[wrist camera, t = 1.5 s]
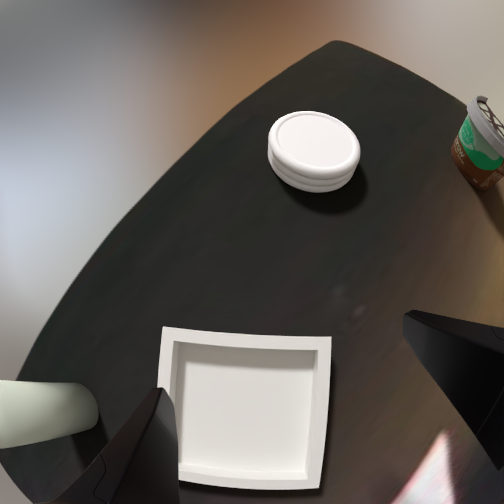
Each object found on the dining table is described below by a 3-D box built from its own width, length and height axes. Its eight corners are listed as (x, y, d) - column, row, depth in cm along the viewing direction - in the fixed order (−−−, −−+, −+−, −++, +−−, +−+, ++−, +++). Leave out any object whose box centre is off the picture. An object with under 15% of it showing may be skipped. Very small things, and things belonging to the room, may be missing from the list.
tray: (313, 476, 17) (318, 487, 15) (165, 464, 18) (155, 474, 15) (323, 339, 22) (331, 336, 20) (172, 330, 23) (162, 326, 20)
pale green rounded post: (98, 436, 19) (13, 460, 7) (61, 420, 19) (-24, 429, 8) (99, 390, 20) (6, 393, 9) (61, 377, 21) (-28, 368, 10)
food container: (433, 129, 32) (458, 83, 23) (459, 137, 32) (486, 95, 23) (462, 195, 28) (502, 149, 18) (488, 199, 28) (527, 160, 18)
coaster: (259, 134, 31) (259, 113, 28) (334, 127, 32) (340, 107, 29) (280, 201, 28) (283, 180, 24) (366, 188, 28) (376, 169, 25)
